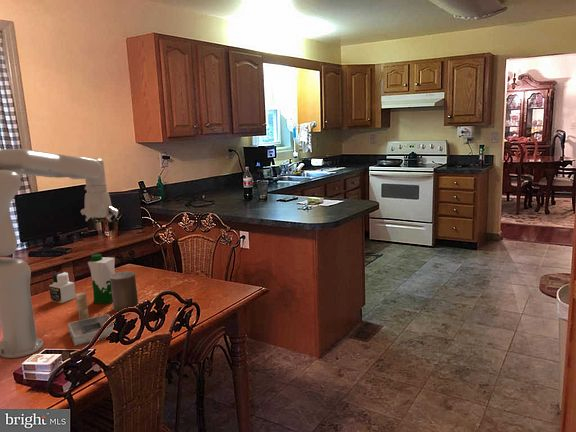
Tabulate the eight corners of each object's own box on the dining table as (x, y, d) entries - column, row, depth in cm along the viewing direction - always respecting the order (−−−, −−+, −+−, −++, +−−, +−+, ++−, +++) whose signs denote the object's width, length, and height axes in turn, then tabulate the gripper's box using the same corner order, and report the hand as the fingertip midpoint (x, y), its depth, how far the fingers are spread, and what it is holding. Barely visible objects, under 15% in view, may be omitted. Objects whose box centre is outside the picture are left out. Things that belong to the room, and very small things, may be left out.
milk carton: (102, 296, 201) (97, 252, 198) (121, 297, 200) (116, 252, 196) (90, 303, 193) (84, 257, 189) (110, 304, 191) (104, 258, 187)
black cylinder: (81, 326, 171) (77, 296, 168) (79, 323, 173) (75, 293, 171) (89, 324, 172) (85, 294, 170) (88, 321, 175) (84, 291, 172)
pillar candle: (142, 306, 188) (139, 271, 185) (119, 313, 181) (115, 277, 179) (131, 301, 195) (128, 266, 192) (109, 307, 188) (105, 272, 185)
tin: (75, 346, 154) (73, 337, 154) (68, 332, 166) (67, 323, 165) (118, 335, 162) (117, 326, 161) (109, 322, 173) (108, 313, 173)
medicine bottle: (50, 301, 198) (47, 274, 195) (65, 295, 204) (61, 269, 202) (61, 303, 194) (57, 276, 192) (76, 297, 201) (72, 271, 198)
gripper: (72, 190, 185) (77, 232, 188) (109, 190, 180) (114, 233, 184) (84, 187, 192) (89, 227, 195) (120, 188, 188) (125, 228, 191)
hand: (101, 230), depth 190 cm, fingers open, 9 cm apart
